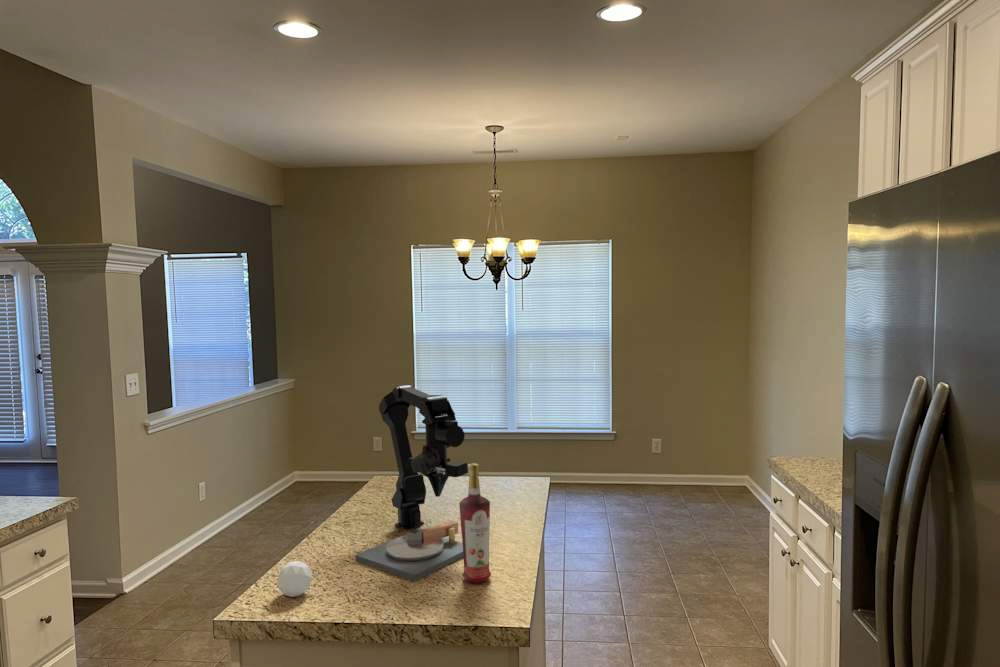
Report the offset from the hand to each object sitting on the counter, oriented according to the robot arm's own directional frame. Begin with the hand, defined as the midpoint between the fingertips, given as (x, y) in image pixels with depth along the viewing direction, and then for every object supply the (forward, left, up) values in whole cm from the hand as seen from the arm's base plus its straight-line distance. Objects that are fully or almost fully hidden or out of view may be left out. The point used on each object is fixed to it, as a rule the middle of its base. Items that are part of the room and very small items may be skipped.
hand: (437, 496), depth 180 cm
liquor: (+25, -13, -13) cm, 31 cm away
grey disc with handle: (+3, -9, -11) cm, 14 cm away
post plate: (+2, -11, -13) cm, 17 cm away
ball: (-5, -43, -13) cm, 46 cm away
